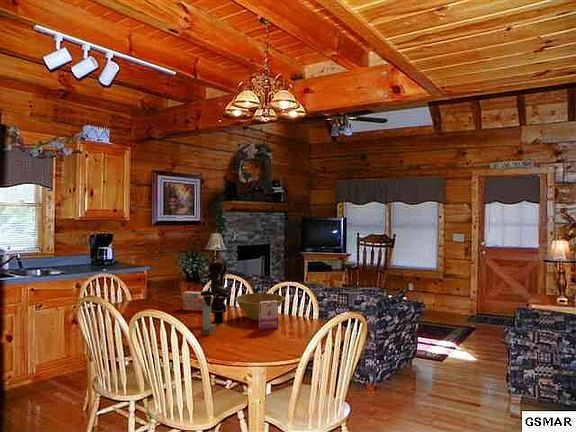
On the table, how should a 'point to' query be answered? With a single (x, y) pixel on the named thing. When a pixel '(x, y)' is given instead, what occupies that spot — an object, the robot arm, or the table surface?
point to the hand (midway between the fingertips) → (214, 309)
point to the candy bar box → (268, 315)
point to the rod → (206, 318)
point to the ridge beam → (209, 332)
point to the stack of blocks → (194, 301)
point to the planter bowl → (256, 302)
